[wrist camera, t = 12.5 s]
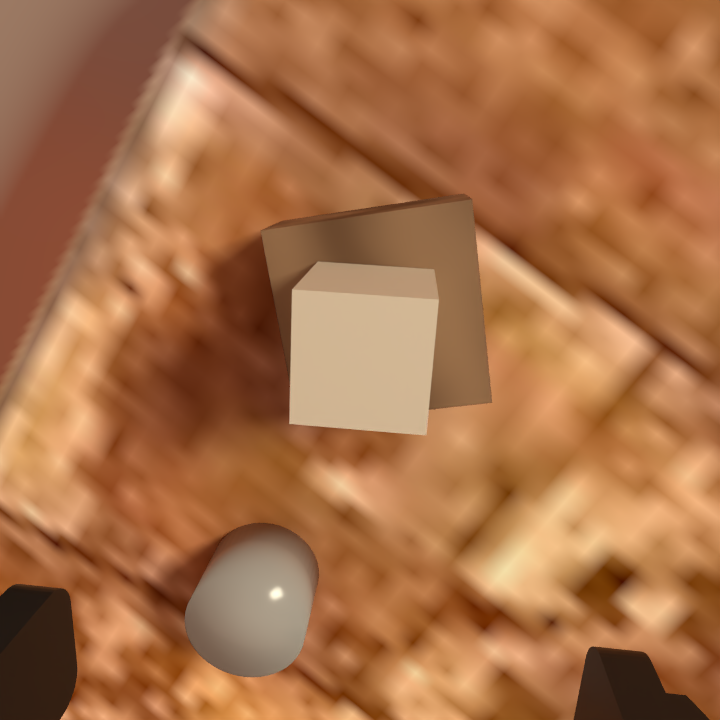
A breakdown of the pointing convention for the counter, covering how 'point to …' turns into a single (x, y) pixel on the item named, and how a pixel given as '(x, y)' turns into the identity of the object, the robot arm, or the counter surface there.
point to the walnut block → (399, 249)
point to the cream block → (363, 347)
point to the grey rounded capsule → (254, 601)
